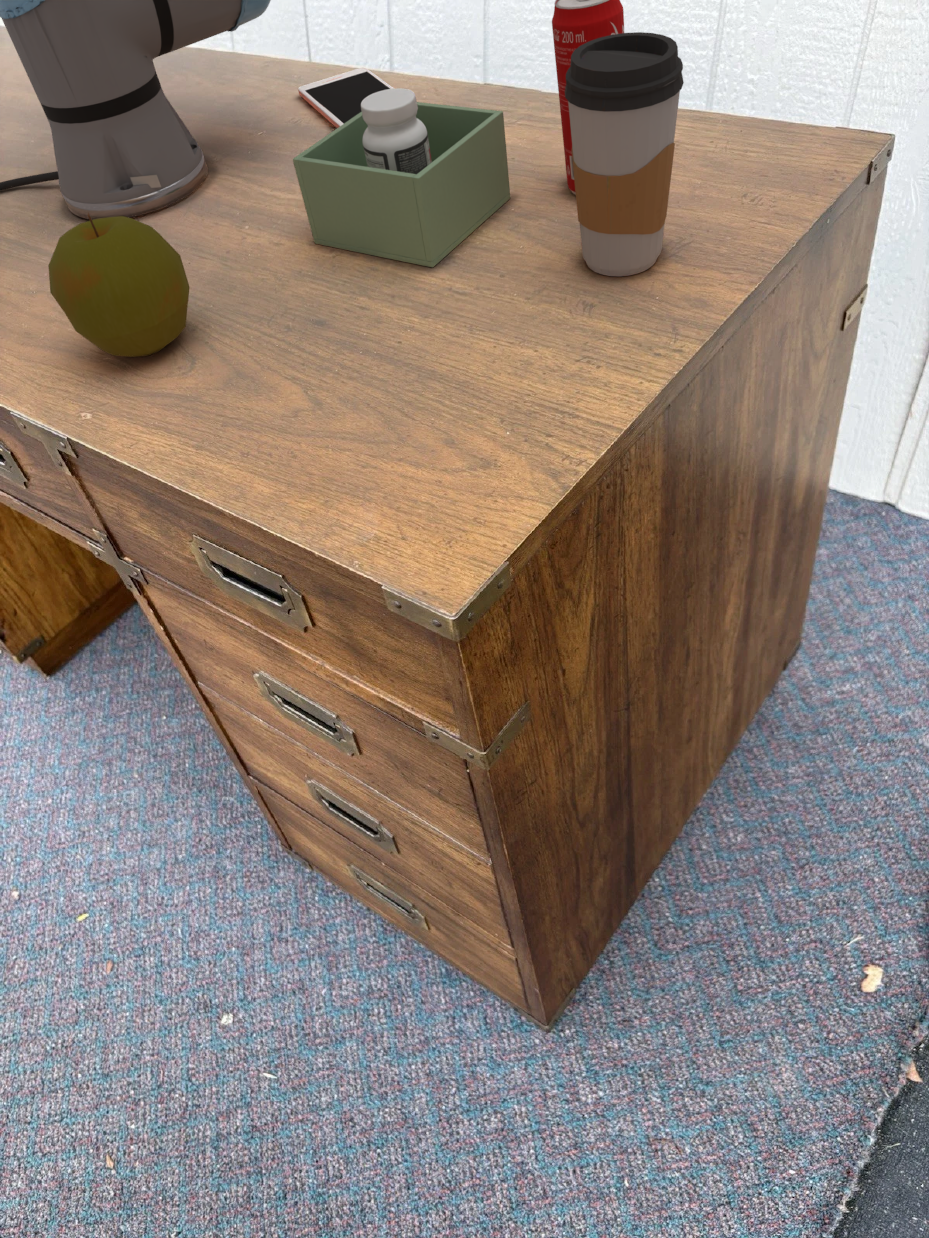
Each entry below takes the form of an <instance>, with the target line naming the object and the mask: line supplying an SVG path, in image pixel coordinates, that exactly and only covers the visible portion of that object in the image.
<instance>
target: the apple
mask: <svg viewBox="0 0 929 1238" xmlns="http://www.w3.org/2000/svg"><path fill="white" fill-rule="evenodd" d="M88 218H89V219H88V221H84V222H80V223H78V224H77V225H75V226H73V227H72V228H70V229H68V230H67V231H66V232H65V233H63V234H62V235H61V236H60V237H59V238H58V241H57V243H56V246H55V248H54V251H53V253H52V256H51V258H50V261H49V263H48V266H47V267H48V279H49V280H48V281H49V291H50V293H49V294H50V295H51V296H52V297H53V298H54V300H55V301H56V303H57V304H58V306H59V307H60V308H61V310H62V311H63V312H64V315H65V316H66V317H67V319H68V321H69V323H70V325H71V326H72V328H73V329H74V331H75V332H76V333H78V334H79V335H80V336H82V337H83V338H85V339H86V340H87V341H89V342H90V343H91V344H93V346H96V348H98V349H100V350H101V351H102V352H105V353H107V354H109V355H111V356H114V357H115V356H117V357H130V358H133V357H134V358H135V357H136V358H140V357H147V356H151V355H154V354H157V353H158V352H160V351H161V350H163V349H164V348H165V347H166V346H167V345H169V344H170V343H171V342H173V341H174V340H175V339H177V338H178V337H179V336H180V335H181V334H182V332H183V331H184V329H185V328H186V326H187V317H188V308H189V297H190V287H191V286H190V284H189V280H188V277H187V274H186V270H185V267H184V263H183V261H182V260H183V259H182V257H181V254H180V253H179V252H178V251H177V250H176V249H175V248H174V247H173V246H172V245H171V244H170V243H169V242H168V241H167V240H166V238H164V237H163V236H162V235H161V233H159V232H158V231H157V230H156V229H155V228H154V227H153V226H151V225H149V224H146V223H144V222H141V221H139V220H136V219H134V218H133V217H129V218H128V217H124V216H117V217H107V218H100V219H94V220H93V219H91V217H90V215H89V213H88Z"/></svg>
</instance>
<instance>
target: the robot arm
mask: <svg viewBox="0 0 929 1238" xmlns="http://www.w3.org/2000/svg"><path fill="white" fill-rule="evenodd" d="M271 1H272V0H0V18H1V20H2V22H3V25H4V27H5V29H6V32H7V33H8V36H9V38H10V40H11V42H12V45H13V46H14V47H13V48H14V49H15V51H16V53H17V56H18V57H19V60H20V62H21V64H22V67H23V69H24V71H25V73H26V75H27V78H28V80H29V81H30V84H31V86H32V88H33V90H34V93H35V95H36V97H37V99H38V101H39V104H40V107H41V108H42V110H43V113H44V115H45V117H46V118H47V122H48V124H49V127H50V131H51V138H52V144H53V145H52V146H53V153H54V157H55V164H56V165H55V166H56V170H57V171H49V172H44V173H38V174H32V175H27V176H22V177H16V178H13V179H7V180H4V181H0V192H1V191H6V190H9V189H14V188H18V187H23V186H24V187H25V186H29V185H34V184H38V183H39V184H40V183H46V182H50V181H51V182H52V181H58V185H59V191H60V193H61V196H62V198H63V200H64V202H65V204H66V207H67V208H68V210H69V211H70V213H72V214H73V215H74V216H77V217H80V218H83V219H86V220H89V218H88V213H89V215H90V217H91V219H92V220H94V219H100V218H107V217H117V216H124V217H128V218H133V217H137V216H142V215H146V214H149V213H153V212H157V210H162V209H164V208H166V207H168V206H171V205H173V204H176V203H177V202H179V201H181V200H182V199H184V198H186V197H188V196H189V195H190V194H193V192H195V191H196V190H197V189H198V188H199V187H200V186H201V185H202V184H203V183H204V181H205V180H206V179H207V177H208V173H209V167H208V164H207V161H206V158H205V155H204V152H203V150H202V148H201V147H200V144H199V143H198V141H197V140H196V139H195V138H194V136H193V134H192V133H191V131H190V130H189V129H188V127H187V125H186V124H185V122H184V121H183V119H182V118H181V116H180V115H179V114H178V112H177V111H176V110H175V108H174V107H173V105H172V104H171V102H170V100H169V99H168V98H167V96H166V95H165V93H164V90H163V87H162V85H161V82H160V79H159V77H158V74H157V71H156V67H155V64H154V63H155V62H154V59H156V58H158V57H161V56H163V55H167V54H169V53H171V52H174V51H178V50H179V49H183V48H186V47H188V46H191V45H193V44H197V43H198V42H202V41H205V40H207V39H209V38H212V37H215V36H217V35H221V34H223V33H226V32H235V31H237V30H238V28H239V27H241V26H242V25H244V24H247V23H249V22H252V21H254V20H255V19H257V18H259V17H261V16H262V15H263V14H264V13H265V12H266V11H267V9H268V7H269V5H270V3H271Z"/></svg>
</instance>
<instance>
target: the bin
mask: <svg viewBox="0 0 929 1238" xmlns="http://www.w3.org/2000/svg"><path fill="white" fill-rule="evenodd" d="M417 106H418V110H417V114H416V118H417V119H419V120H420V121H421V122H422V123H423V124H424V125H425V127H426V129H427V134H428V140H429V147H430V154H431V160H432V163H431V164H429V165H428V166H427V167H425V168H424V169H423V170H422V171H420V172H419V173H418V174H417V175H416V174H411V173H405V172H398V171H392V170H385V169H378V168H372V167H368V166H367V161H366V156H365V152H364V147H363V134H364V132H365V130H366V129H367V127H368V125H367V124H366V123H365V121H364V120H363V116H362V112H360V113H359V114H357V115H356V116H354V117H353V118H352V119H350V120H349V121H347V122H346V123H344V124H343V125H341V126H340V127H338V128H335V129H334V130H333V131H331V132H329V133H328V134H327V135H325V136H324V137H322V138H321V139H319V140H318V141H316V142H315V143H314V144H312V145H310V146H309V147H308V148H306V149H305V150H304V151H302V152H301V153H299V154H298V155H296V156H295V157H293V158H292V162H293V166H294V171H295V175H296V178H297V182H298V186H299V189H300V193H301V197H302V201H303V204H304V208H305V211H306V212H305V213H306V215H307V220H308V223H309V226H310V230H311V235H312V238H313V242H314V244H315V245H320V246H325V247H330V248H335V249H340V250H345V251H349V252H354V253H359V254H363V255H369V256H374V257H379V258H385V259H388V260H394V261H398V262H403V263H408V264H413V265H418V266H423V267H428V268H435V266H437V265H438V264H439V263H440V262H441V261H442V260H444V259H445V258H446V257H447V256H448V255H449V254H450V253H451V252H452V251H453V250H454V249H456V247H458V246H459V245H460V244H461V243H462V242H463V241H465V240H466V239H468V237H469V236H470V235H471V234H472V233H473V232H475V230H477V229H478V228H479V227H480V226H482V224H484V222H486V221H487V220H488V219H489V218H490V217H491V216H493V214H495V213H496V212H497V211H498V210H499V209H500V208H501V207H502V206H504V205H505V204H506V203H507V202H508V201H509V200H510V199H511V189H510V188H511V187H510V176H509V165H508V153H507V141H506V130H505V129H506V128H505V118H504V110H497V109H496V110H495V109H488V108H487V109H485V108H476V107H467V106H459V105H449V104H441V103H431V102H422V101H417Z"/></svg>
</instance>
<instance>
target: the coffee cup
mask: <svg viewBox="0 0 929 1238" xmlns="http://www.w3.org/2000/svg"><path fill="white" fill-rule="evenodd" d="M678 48H679V47H678V44H677V42H676V41H675V40H674V39H673V38H672V37H669V36H666V35H664V34H659V33H653V32H644V31H643V32H642V31H641V32H639V31H638V32H624V33H621V34H614V35H609V36H605V37H600V38H597V39H594V40H591V41H589V42H587V43H585V44H583V45H581V46H579V47H578V48H577V49H575V50H574V52H573V53H572V55H571V65H570V68H569V69H568V71H567V72H566V87H565V98H566V99H567V100H568V104H569V115H570V126H571V137H572V160H573V171H574V181H575V192H576V195H575V202H576V212H577V213H576V214H577V221H578V223H579V232H580V233H579V234H580V243H581V244H580V245H581V255H582V258H583V260H584V261H585V263H586V265H587V267H588V268H589V269H590V270H591V271H593V272H594V273H597V274H600V275H601V276H603V275H604V276H608V277H627V276H633V275H637V274H640V273H642V272H645V271H647V270H648V269H650V268H652V267H653V266H654V264H655V263H656V262H657V260H658V257H659V256H660V255H661V252H662V249H663V241H664V232H665V223H666V220H667V214H668V207H669V199H670V189H671V181H672V171H673V165H674V163H673V162H674V156H675V147H676V143H675V138H676V137H675V136H676V128H677V119H678V110H679V103H680V94H681V93H680V92H681V90H682V89H683V86H684V83H685V81H684V77H683V69H684V64H683V61H682V58H681V57H679V49H678Z"/></svg>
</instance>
